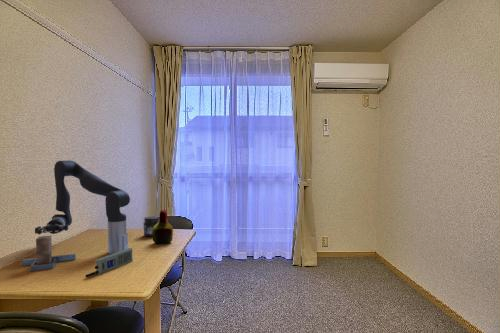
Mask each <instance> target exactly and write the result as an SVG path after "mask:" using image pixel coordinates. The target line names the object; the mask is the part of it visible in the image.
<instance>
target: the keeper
mask: <svg viewBox="0 0 500 333" xmlns="http://www.w3.org/2000/svg"><path fill="white" fill-rule="evenodd" d="M76 260H77V253H70V254H69V253H68V254H61V255H52V263H48V264H39V265H36V257H33V258H32V257H31V258H23V259H22V265H21V266H30V272H37V271H47V270H53V269H55V267H56V265H57V264H58V263H59V262H67V261H69V262H70V261H76Z"/></svg>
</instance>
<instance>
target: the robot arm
mask: <svg viewBox="0 0 500 333" xmlns="http://www.w3.org/2000/svg"><path fill="white" fill-rule="evenodd" d="M53 172H54V174H53V175H54V182H55V191H56V196H55V198H56V199H55V210H56V211H57V212H61V213H64V214H57V213H56V214H53V215H54V216H53V215H52V217H51V219H52V220H51V219H50V221H48V222H47V223H46V225H43V226H39V225H38V226H37V227H34V234H38V235H41V234H46V233H49V234H50V235H51V234H53V235H56V234H59V233H61V232H65V231H67V232H68V230H69V226H71V224H72V222H73V216H72V214H71V206H70V205H71V204H70V203H71V194H70V192H69V190H68V189H67V186H66V185H65V178H66V177H74V178H76V179H78V180H79V184H80V186H81V187H82V188H83V189H85V190H86V191H88V192H90V193H92V194H95V195H99V196H103V197H105V201H104V202H105V203H104V204H105V214H106V217H107V253H108V254H109V255H111V254H114V253H117V252H119V251H122V250H125V249H128V248H129V236H128V235H129V234H128V232H127V215H126V214H124V213H122V212H121V208H123V207H126V206H128V205H129V204H130V201H131V198H130V195H129V193H128V192H127V191H125V190H123V189H121V188H119V187H117V186H114V185H112V184H111V183H109V182H107V181H105V180H104V179H102V178H100V177H99V176H98V175H96V174H94V173H92V172H90V171H88V169H86V168H84V167H82V166H81V165H80V164H79V163H77V162H76V161H74V160H71V159H70V160H58V161H56V162H55V164H54V168H53Z"/></svg>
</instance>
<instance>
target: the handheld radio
mask: <svg viewBox="0 0 500 333" xmlns="http://www.w3.org/2000/svg"><path fill="white" fill-rule="evenodd" d="M131 262H133V248H132V247H128V249H125V250H122V251H119V252H117V253H114V254H109V255H105V256H102V257H100V258H98V259H95V260H94V264H95V266H94V269H95V271H93V272H90V273H88V274H85V279H86V278H87V279H88V278H91V277H93V276H95V275H102V274H104V273H107V272H110V271H112V270H114V269H117V268H119V267H123V266H124V265H126V264H128V263H131Z"/></svg>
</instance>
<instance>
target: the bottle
mask: <svg viewBox="0 0 500 333" xmlns="http://www.w3.org/2000/svg"><path fill="white" fill-rule="evenodd" d="M158 217H159V222H158V223H157V224H156V225H155V226H154V227H153V231H152V236H153V237H152V241H153V243H154V244H156V245H160V244H169V243H172V242H173V239H174V237H173V236H174V228H173V226H172V225H171V224H170V223H169V221H168V211H167V210H166V209H162V210H160V212H159V216H158Z"/></svg>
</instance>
